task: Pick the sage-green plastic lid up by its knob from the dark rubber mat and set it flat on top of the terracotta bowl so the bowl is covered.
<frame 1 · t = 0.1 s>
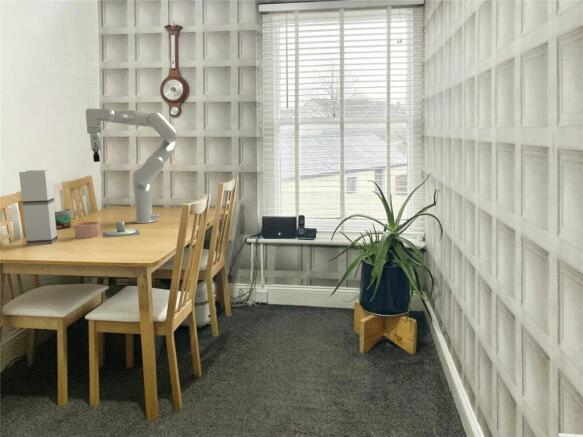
hand: (96, 161, 300), 37 cm above the table, tool pointing down, fingers open, 9 cm apart
food container: (66, 228, 300), on the table
bowl: (88, 236, 270), on the table
grey two-tier tower: (42, 242, 259), on the table
mat: (121, 234, 275), on the table
lid: (121, 233, 275), point 1 cm above the table, touching mat
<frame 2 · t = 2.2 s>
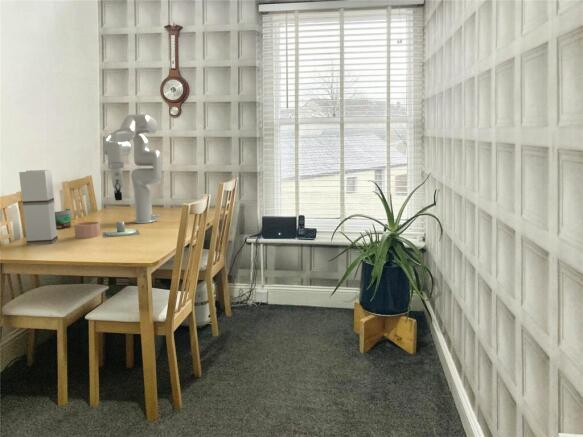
hand: (118, 199, 272), 18 cm above the table, tool pointing down, fingers open, 9 cm apart
nothing on the table moved.
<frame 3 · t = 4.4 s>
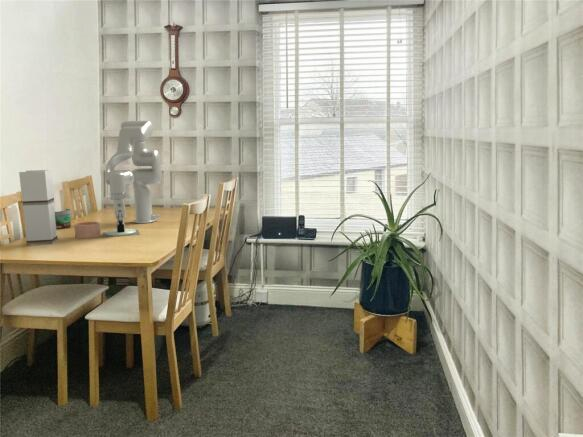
hand: (120, 230, 275), 2 cm above the table, tool pointing down, fingers closed on lid, 4 cm apart
lid: (121, 233, 275), point 1 cm above the table, touching gripper, mat
everything else where it was.
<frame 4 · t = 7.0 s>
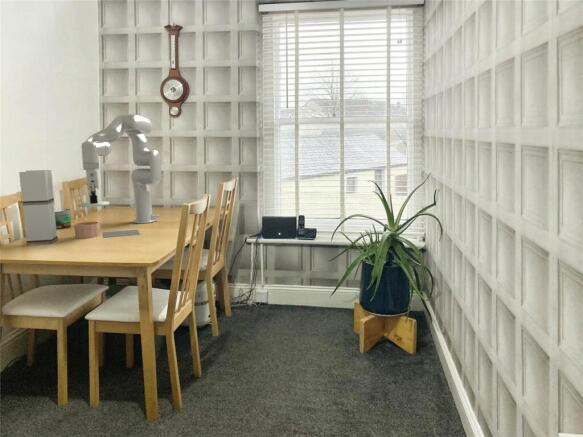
hand: (93, 202, 268), 18 cm above the table, tool pointing down, fingers closed on lid, 4 cm apart
lid: (94, 204, 269), point 16 cm above the table, touching gripper
everything else where it was.
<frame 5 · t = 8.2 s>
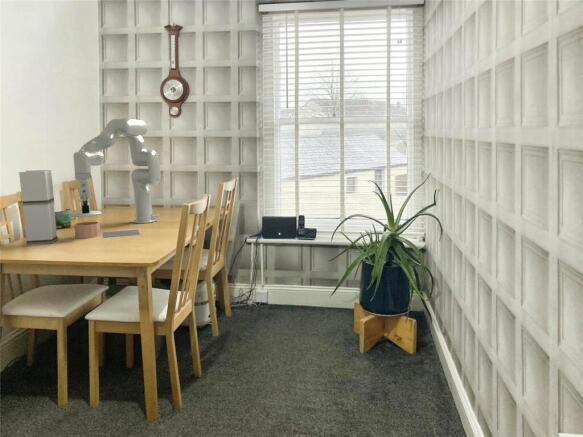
hand: (86, 212, 268), 13 cm above the table, tool pointing down, fingers closed on lid, 4 cm apart
lid: (86, 214, 268), point 12 cm above the table, touching gripper
everything else where it was.
when the fingers open (9 cm above the table, at t = 9.5 s): lid drops 1 cm, resting on bowl.
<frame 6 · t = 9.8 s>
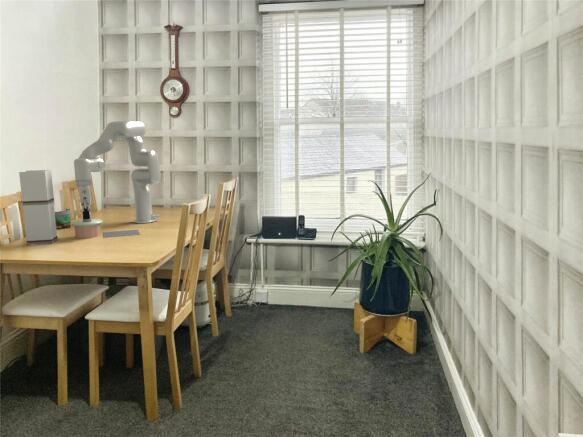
hand: (86, 217, 269), 10 cm above the table, tool pointing down, fingers open, 7 cm apart
lid: (87, 223, 269), point 7 cm above the table, touching bowl
everything else where it was.
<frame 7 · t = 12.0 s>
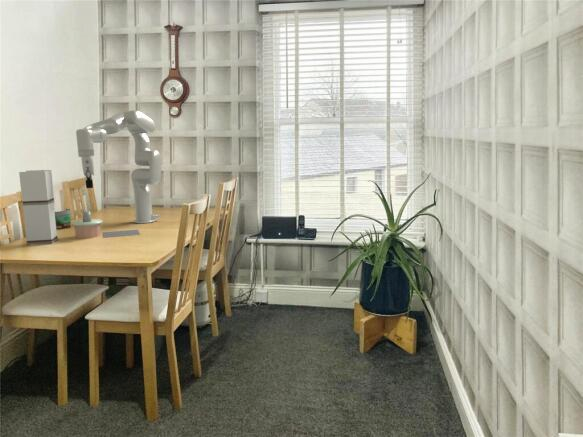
hand: (89, 186, 272), 25 cm above the table, tool pointing down, fingers open, 9 cm apart
nothing on the table moved.
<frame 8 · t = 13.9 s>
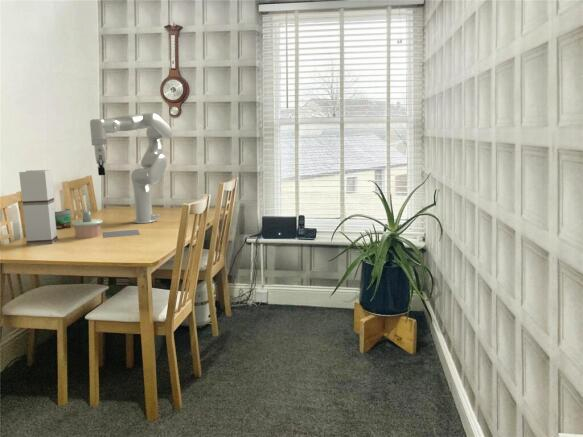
hand: (101, 174, 285), 30 cm above the table, tool pointing down, fingers open, 9 cm apart
nothing on the table moved.
at the end: lid 0.1 cm from the bowl (horizontally); lid point 7.0 cm above the table; lid tilted 0° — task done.
